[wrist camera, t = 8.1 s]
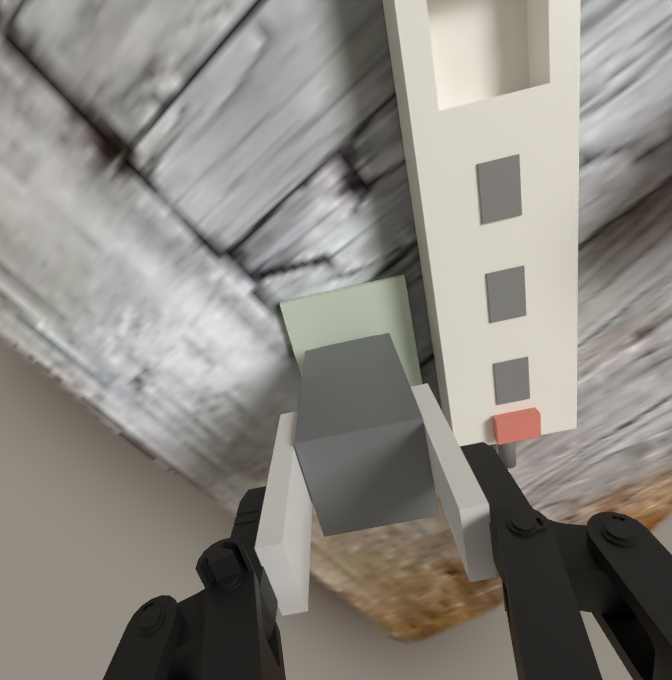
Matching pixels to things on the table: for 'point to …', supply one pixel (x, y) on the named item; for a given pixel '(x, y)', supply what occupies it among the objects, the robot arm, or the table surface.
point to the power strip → (495, 205)
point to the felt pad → (355, 320)
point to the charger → (362, 438)
